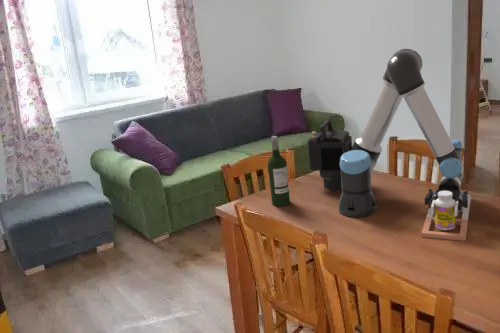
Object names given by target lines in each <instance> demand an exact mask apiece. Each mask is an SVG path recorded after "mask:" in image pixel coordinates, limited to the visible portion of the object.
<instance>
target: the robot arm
mask: <svg viewBox="0 0 500 333" xmlns="http://www.w3.org/2000/svg"><path fill="white" fill-rule="evenodd" d="M422 68H423V59H422V56H421V55H420V54H419V52H418V51H416V50H414V49H411V48H402V49H399V50H397V51H395V53H394V54H393V55H392V57H390V59H389V60H388V62H387V66H386V70H385V72H384V73H383V77H382V81H383V83H384V84H383V87H382V88H381V90H380V93H379V95H378V98H377V100H376V101H375V103H374V106H373V109H372V111H371V112H370V115H369V117H368V119H367V122H366V124H365V127H364V129H363V130H362V131H363V132H361V135H360V137H357V138H355V139H354V142H353V143H352V148H351V151H348V152H346V153H344V154H343V155H342V156H341V158H340V171H341V186H342V190H341V195H340V197H339V202H338V207H337V208H338V212H339V213H340V215H343V216H346V217H351V218H352V217H353V218H362V217H367V216H370V215H371V216H372V215H373V214H375V213H376V212H377V210H378V208H377V207H378V206H377V205H378V204H377V201H376V200H375V195H374V194H373V191H372V173H373V171H374V168H375V167H376V164H377V163H378V159H379V158H380V156H381V153H382V151H383V149H382V146H381V144H382V142H383V141H384V138H385V136H386V134H387V132H388V129H389V128H390V126H391V124H392V122H393V119H394V118H395V117H394V116H395V115H396V113H397V110H398V108H399V106H400V104H401V102H402V100H403V99H404V101H405V103H406V104H407V106H408V109H409V110H410V112H411V113H412V116H413V118H414V120H415V121H416V124H417V126H418V128H419V129H420V131H421V134H422V135H423V136H424V139H425V140H426V142H427V144H428V147H429V148H430V150H431V152H432V153H433V155H434V158H435V160H436V163H437V164H438V166H439V172H440V174H441V175H440V177H441V178H440V181H439V184H438V188H437V189H436V190H433V189H431V188H428V192H427V194H426V196H425V197H424V205H425V206H428V209H429V208H431V214H433V213H434V214H435V212H434V210H435V201H436V199H438V198H439V197H438V192H440V191H450V192H452V193H453V197H452V199H453V200H454V201H455V217H457V216H458V213H459V212H458V211H461V210H462V207H464V208H468V195H469V191H467V190H465V191H462V192H461V186H462V181H463V167H464V166H463V146H462V144H463V143H462V141H461V140H459V139H458V138H457V139H455V138H450V136H449V134H448V132H447V130H446V128H445V126H444V124H443V123H442V121H441V119H440V117H439V114H438V112H437V111H436V109H435V107H434V105H433V103H432V101H431V99H430V97H429V95H428V93H427V91H426V90H425V85H426V83H425V79H424V78H423V75H422V74H421V71H422ZM435 194H436V195H435ZM434 195H435V196H434ZM459 196H461V197H462V199H463V200H462V199H460V198H459Z"/></svg>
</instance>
